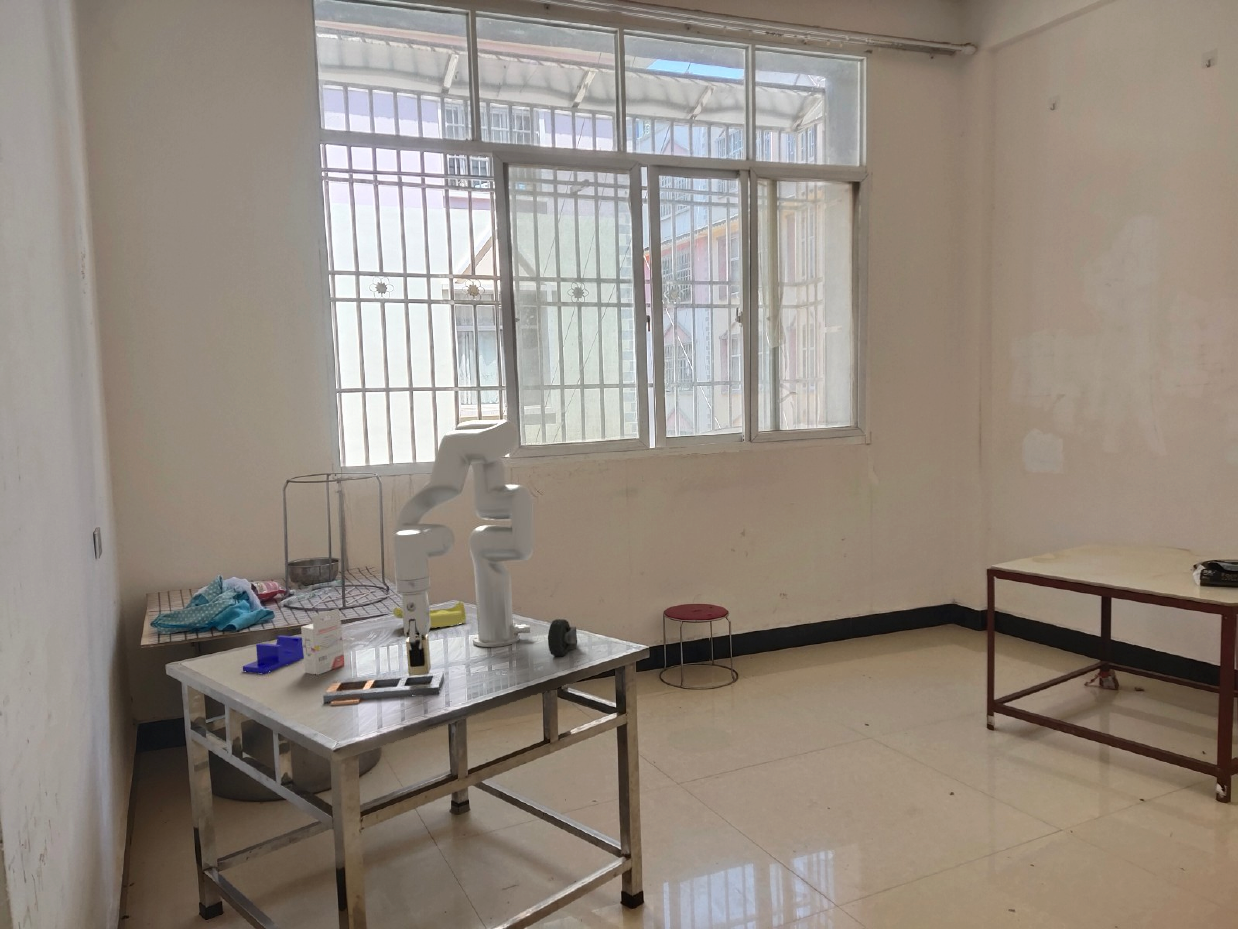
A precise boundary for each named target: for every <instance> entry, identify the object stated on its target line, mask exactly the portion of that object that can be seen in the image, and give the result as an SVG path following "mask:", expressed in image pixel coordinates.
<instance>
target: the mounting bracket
mask: <svg viewBox="0 0 1238 929" xmlns="http://www.w3.org/2000/svg"><path fill="white" fill-rule="evenodd" d="M255 645H256V646H255V647H256V659H257V660H255V661H252V662H250V663H248V664H245V665H243V666H242V672H243V671H246V672H245V673H249V672H252V673H251V674H258V673H262V674H261V675H267V674H268V672H269V671H272V672H274V671H276V670H278V669H277V668H279V667H281V668H283V667H282V666H284V665H286V664H288V665H290V663H291V664H293V663H295V662H299V661H300V660H302V658H303V659H304V654H303V643H302V636H292V635H281V634H280V635H278V636H276V643H275V644H274V643H273V644H272V643H260V642H259V643H256V644H255ZM294 661H295V662H294ZM292 662H293V663H292ZM286 666H287V665H286ZM284 667H285V666H284ZM275 669H276V670H275ZM279 669H280V668H279ZM273 670H274V671H273ZM266 673H267V674H266ZM269 673H270V672H269Z"/></svg>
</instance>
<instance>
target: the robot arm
mask: <svg viewBox="0 0 1238 929" xmlns="http://www.w3.org/2000/svg"><path fill="white" fill-rule="evenodd" d="M518 442H519V431H518V427H517V426H516V424H514V422H512V421H510V420H507V419H506V420H505V419H497V420H496V419H495V420H494V419H493V420H470V421H464V422H461V423H459V424H457V425H456V427H455V429H454V430H453V431H449V432H447V433H446V434H445V435H443V437H442V439H441V442H440V444H439V446H438V450H437V453H436V455H435V456H436V457H435V459H434V462H433V466H432V469H431V472H430V475H429V478H428V481H426V483H425V484H424V485H423V486H421V487H420V488H419V489H418V490H417V491H416V492H415V493H414V494H413V495H412V496H411V497H410V498H409V499H408V500H407V501H406V502H405V503H404V505H403V506H402V508H401V510H400V512H399V515H398V517H397V520H396V523H395V526H394V530H393V534H392V540H391V541H392V551H393V563H394V566H393V567H394V577H395V591H396V594H397V595H399V596H400V595H401V607H402V608H401V610H402V613H403V618H402V622H403V624H402V626H403V633H404V636H405V637H406V638H407V639H408V637H409V658H410V666H411V667H419V666H424V665H425V660H424V648H422V635H423V636H426V635H427V634H428V633H429V632H430V629H431V628H430V627H431V619H430V610H431V609H430V602H429V596H428V592H429V591H430V590H431V578H430V568H429V558H436V557H438V558H439V557H442V556H445V555H446V554H448V553H449V552H450V551H451V550H452V549H453V547H454V545H455V535H454V532H453V530H452V529H451V528H450V527H449V526H447V525H445V524H441V523H421V520H422V519H423V518H424V517H425V516H426V515H427V514H428V513H429V512H430V511H431V510H433V509H435V508H437V507H439V506H441V505H444V504H445V503H448V502H450V501H452V500H454V499H456V498H458V497H459V496H460V495H461V494H462V492H463V489H464V485H465V483H466V479H467V475H468V472H469V468H470V466H471V468H472V475H473V476H472V477H473V506H474V513H475V515H476V516H477V518H479V519H480V520H484V521H485V520H486V521H510V523H511V525H502V524H500V525H499V524H491V525H489V524H486V525H481V526H477V527H476V528H475V529H473V530H472V531H471V532H470V534H469V537H468V548H469V551H470V555H471V560H472V566H473V570H474V571H473V572H474V573H473V574H474V585H475V601H476V603H475V604H476V617H477V619H476V620H477V633H478V634H476V635H475V636H473V637H472V643H473V645H475V646H478V647H484V648H495V647H497V648H498V647H504V646H509V645H513V644H515V643H517V642H518V641H519V640H520V634H530V633H531V628H530V626H531V625H526V624H521V625H519V624H515V620H514V618H513V616H514V615H513V597H512V580H511V579H512V578H511V574H510V571H509V569H508V567H507V566H506V564H505V562H525V561H527V560H529V559H530V558H531V557H532V555H533V552H534V547H535V546H534V545H535V533H534V532H535V529H534V526H535V525H534V524H535V522H534V521H535V519H534V501H533V500H534V499H533V495H532V494H531V491H530V490H529V488H528V487H526V486H524V485H522V484H521V485H520V484H507V482H506V470H505V468H506V467H505V464H504V462H503V460H502V458H503V457H505V456H507V455H509V454H511V452H513V451H514V450H515V449H516V446H517V445H518ZM428 635H429V634H428ZM416 638H419V641H418V640H416Z"/></svg>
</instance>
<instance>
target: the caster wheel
mask: <svg viewBox="0 0 1238 929" xmlns="http://www.w3.org/2000/svg"><path fill="white" fill-rule="evenodd" d="M547 641H548V642H547V645H548V651H549V653H550V654H551V655H552V656H554V657H565V656H566V655H567V654H568V652H569V651H570V650H576V649H577V647H578V634H577V626H570V624H569V621H568V620H566V619H563V618H562V619H559V618H557V619H554V620H552V622H551V623H550V625H549V630H548V635H547Z"/></svg>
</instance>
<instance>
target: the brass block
mask: <svg viewBox="0 0 1238 929" xmlns="http://www.w3.org/2000/svg"><path fill="white" fill-rule="evenodd" d="M416 640H418V641H419V638H416ZM429 642H430V641H429V634H427V635H426V636H423V635H422V648H424V660H425V665H424V666H419V667H411V666H410V658H409V637H408V638H407V639H406V640H405V645H406V646H405V647H406V658H407V670H408V674H409V676H414V675H426V674H429V673H430V671H431V667H432V666H431V653H430V643H429Z"/></svg>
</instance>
